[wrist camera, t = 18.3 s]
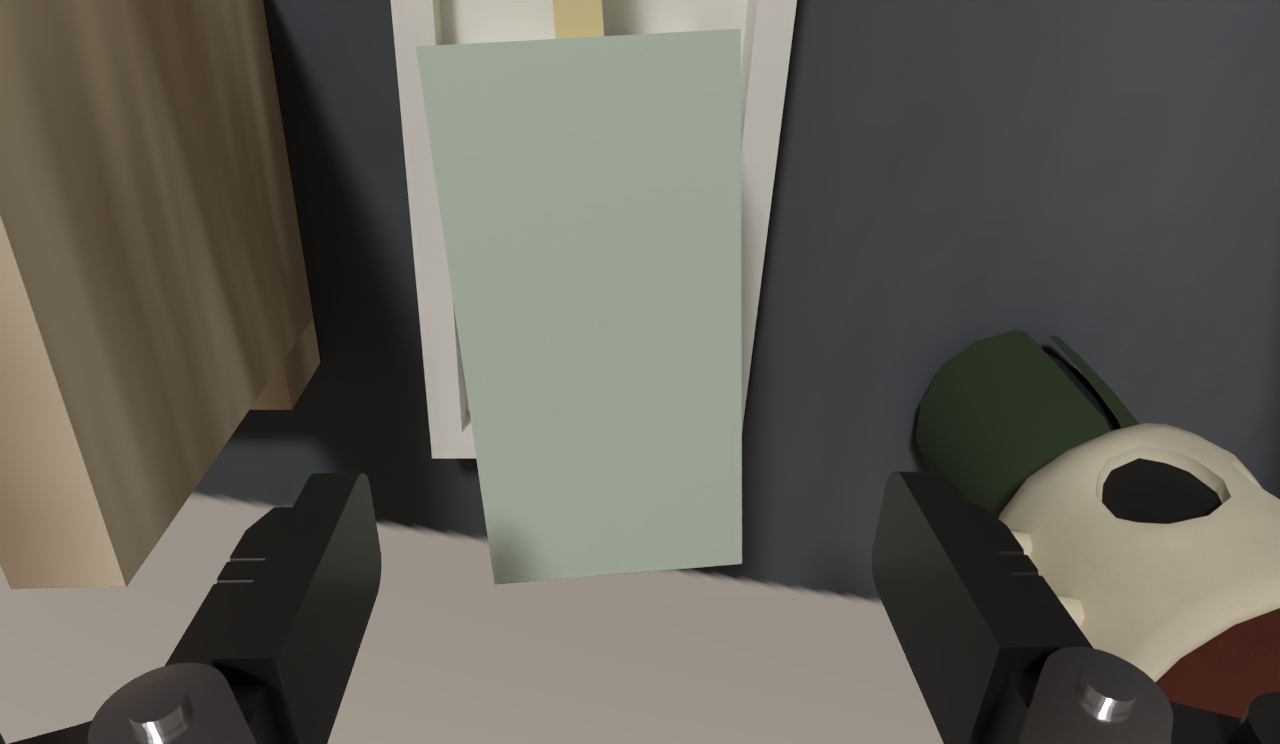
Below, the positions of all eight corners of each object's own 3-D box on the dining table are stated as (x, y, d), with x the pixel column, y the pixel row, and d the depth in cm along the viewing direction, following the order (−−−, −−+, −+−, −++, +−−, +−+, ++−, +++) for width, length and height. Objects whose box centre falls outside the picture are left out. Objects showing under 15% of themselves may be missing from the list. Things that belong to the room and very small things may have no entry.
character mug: (1174, 336, 28) (1591, 609, 16) (1083, 499, 31) (1379, 822, 20) (884, 288, 26) (1125, 556, 15) (819, 465, 29) (976, 798, 18)
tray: (812, -293, 19) (837, -317, 17) (728, 425, 28) (738, 458, 27) (379, -328, 18) (358, -357, 16) (441, 425, 27) (432, 458, 26)
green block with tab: (687, -190, 19) (739, -307, 13) (702, 434, 26) (742, 564, 19) (439, -180, 19) (366, -293, 13) (517, 448, 26) (494, 584, 19)
